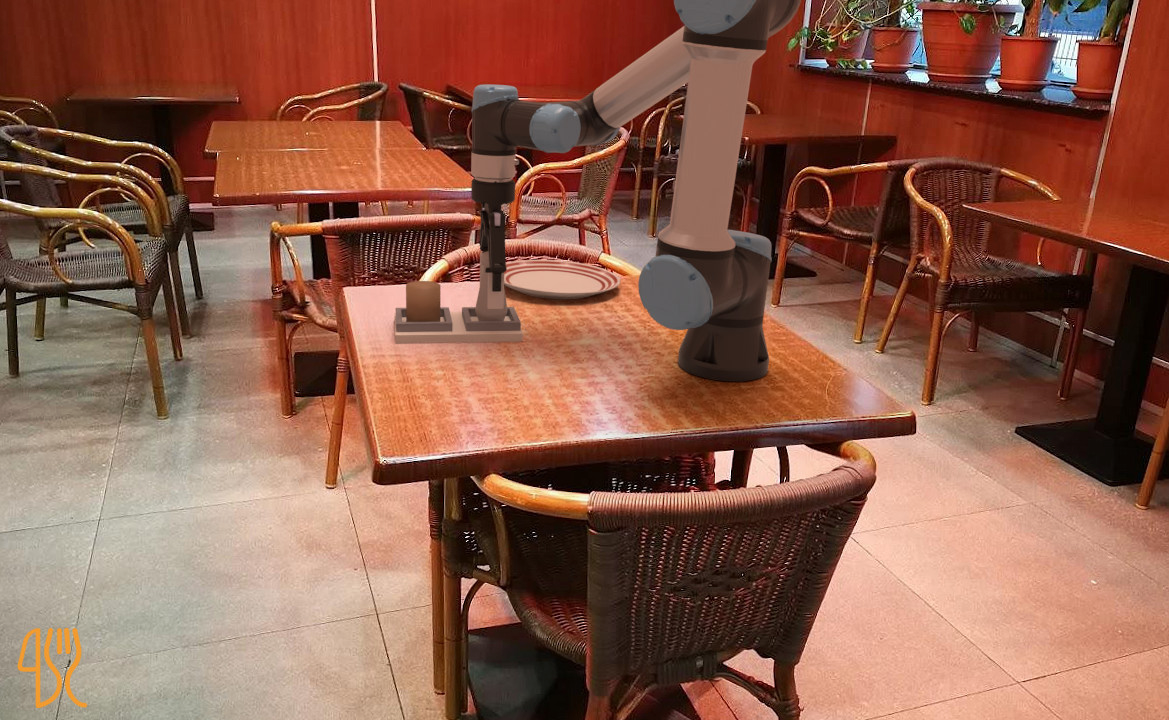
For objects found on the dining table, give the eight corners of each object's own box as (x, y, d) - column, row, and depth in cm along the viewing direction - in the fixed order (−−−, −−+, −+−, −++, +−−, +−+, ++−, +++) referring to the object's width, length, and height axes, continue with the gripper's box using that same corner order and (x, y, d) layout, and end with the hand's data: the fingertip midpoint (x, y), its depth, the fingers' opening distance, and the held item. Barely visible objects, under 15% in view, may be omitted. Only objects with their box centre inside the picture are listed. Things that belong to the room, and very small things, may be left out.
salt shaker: (470, 319, 172) (472, 249, 168) (500, 317, 175) (503, 248, 171) (480, 328, 167) (483, 256, 163) (511, 326, 170) (514, 255, 166)
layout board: (522, 341, 167) (524, 295, 164) (395, 343, 162) (394, 295, 159) (513, 319, 179) (514, 275, 176) (394, 320, 174) (393, 275, 171)
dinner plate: (595, 270, 218) (596, 256, 217) (638, 304, 194) (639, 288, 193) (478, 274, 210) (478, 259, 209) (508, 309, 186) (508, 293, 184)
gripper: (525, 191, 152) (521, 317, 159) (506, 167, 175) (503, 279, 182) (478, 190, 150) (476, 318, 157) (465, 166, 173) (464, 279, 180)
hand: (491, 297), depth 170 cm, fingers open, 13 cm apart
